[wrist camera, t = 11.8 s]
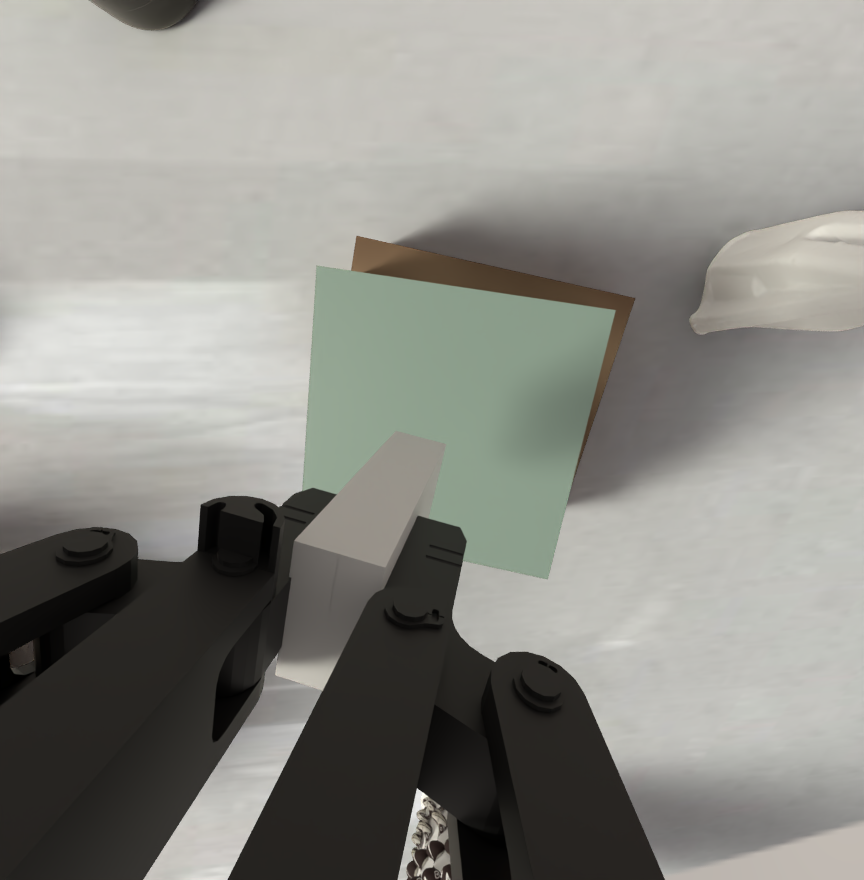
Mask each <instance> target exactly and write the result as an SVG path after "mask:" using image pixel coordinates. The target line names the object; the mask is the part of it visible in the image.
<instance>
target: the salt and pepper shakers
mask: <svg viewBox="0 0 864 880" xmlns="http://www.w3.org/2000/svg"><path fill="white" fill-rule="evenodd" d="M689 322H690V324H691V327H692V329H693V330H694V332H696V333H697V334H700V335H704V334H706V333H708V332H715V331H722V330H728V329H736V328H742V327H745V328H749V327H760V328H776V329H792V330H807V331H844V330H849V329H853V328H857V327H860V326H864V211H838V212H833V213H828V214H823V215H819V216H814V217H811V218H806V219H802V220H797V221H793V222H789V223H784V224H780V225H777V226H772V227H768V228H764V229H760V230H751V231H748V232H745V233H743V234H741V235H739V236H737V237H735V238H733V239H732V240H730V241H729V242H728V243H727V244H725V246H724V247H723V248H722V249H721V250H720V251H719V252H718V254H717V255H716V256H715V258H714V259H713V261H712V262H711V264H710V265H709V267H708V269H707V273H706V280H705V286H704V292H703V296H702V300H701V304H700V307H699V309H698V310H697V312H696V313H694V314H693V315H692V316H691V317H690V319H689Z"/></svg>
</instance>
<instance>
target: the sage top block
mask: <svg viewBox="0 0 864 880" xmlns="http://www.w3.org/2000/svg"><path fill="white" fill-rule="evenodd" d="M615 311H616V310H611V309H604V308H597V307H591V306H584V305H577V304H570V303H564V302H557V301H550V300H544V299H537V298H530V297H524V296H517V295H510V294H503V293H497V292H490V291H483V290H477V289H470V288H463V287H457V286H450V285H443V284H437V283H430V282H423V281H416V280H410V279H403V278H396V277H390V276H383V275H376V274H370V273H363V272H356V271H349V270H343V269H336V268H329V267H323V266H317V268H316V284H315V300H314V316H313V331H312V347H311V363H310V379H309V395H308V410H307V426H306V442H305V458H304V474H303V489H302V491H304V490H307V489H310V488H316V489H319V490H323V491H327V492H330V493H334V494H338V493H339V492H340V491H341V490H342V489H343V487H344V486H345V485H346V484H347V483H348V482H349V481H350V480H351V479H352V478H353V477H354V476H355V474H356V473H357V472H358V471H359V470H360V469H361V468H362V467H363V466H364V465H365V464H366V463H367V462H368V460H369V459H370V458H371V457H372V456H373V455H374V454H375V453H376V452H377V451H378V450H379V449H380V447H381V446H382V445H383V444H384V443H385V442H386V441H387V440H388V439H389V438H390V437H391V436H392V435H393V433H394V432H395V431H398V432H402V433H406V434H410V435H414V436H417V437H421V438H425V439H429V440H433V441H436V442H440V443H444V444H446V448H445V452H444V456H443V460H442V464H441V469H440V473H439V477H438V481H437V485H436V489H435V494H434V498H433V502H432V506H431V510H430V514H429V519H432V520H436V521H439V522H443V523H446V524H450V525H454V526H457V527H460V528H461V530H462V532H463V534H464V536H465V538H466V540H467V543H466V548H465V553H464V558H463V561H466V562H470V563H475V564H480V565H484V566H489V567H493V568H498V569H502V570H507V571H511V572H516V573H521V574H525V575H530V576H534V577H539V578H543V579H548V576H549V572H550V568H551V564H552V560H553V556H554V552H555V549H556V545H557V541H558V537H559V533H560V529H561V525H562V521H563V517H564V513H565V509H566V505H567V501H568V497H569V493H570V489H571V485H572V481H573V477H574V473H575V469H576V466H577V462H578V458H579V454H580V450H581V446H582V442H583V438H584V434H585V430H586V426H587V422H588V418H589V414H590V410H591V406H592V402H593V398H594V394H595V390H596V386H597V382H598V379H599V375H600V371H601V367H602V363H603V359H604V355H605V351H606V347H607V343H608V339H609V335H610V331H611V327H612V323H613V319H614V315H615Z"/></svg>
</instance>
